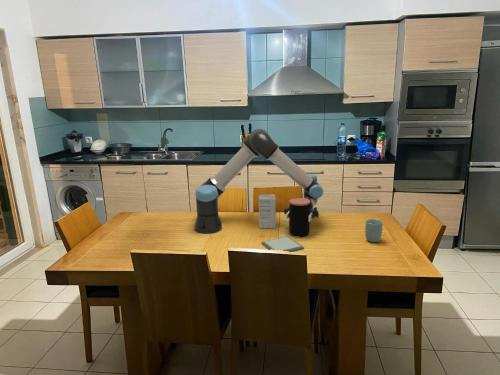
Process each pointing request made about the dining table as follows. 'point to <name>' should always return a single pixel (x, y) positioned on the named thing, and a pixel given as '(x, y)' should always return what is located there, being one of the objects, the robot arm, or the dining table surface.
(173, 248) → the dining table surface
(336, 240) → the dining table surface
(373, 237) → the cup
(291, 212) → the coffee jar
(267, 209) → the supplement box
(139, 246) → the dining table surface
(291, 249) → the mat
